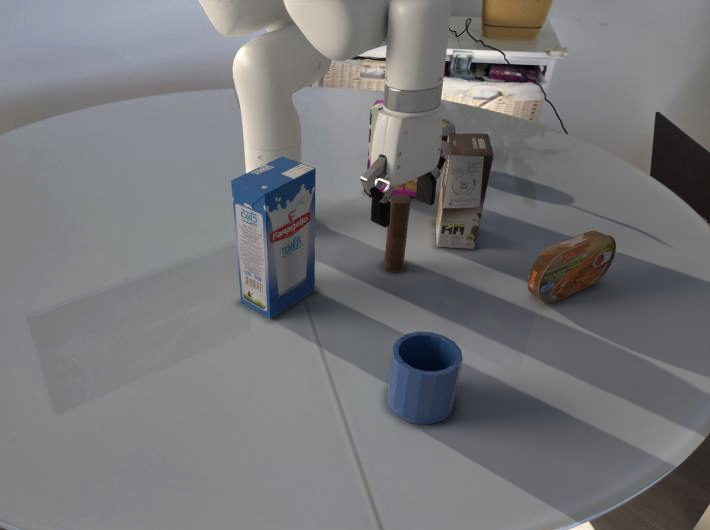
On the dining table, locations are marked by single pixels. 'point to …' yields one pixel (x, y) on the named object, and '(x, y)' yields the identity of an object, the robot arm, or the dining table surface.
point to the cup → (423, 377)
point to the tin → (571, 266)
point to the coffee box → (463, 190)
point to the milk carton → (275, 234)
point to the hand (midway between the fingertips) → (402, 212)
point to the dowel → (397, 232)
